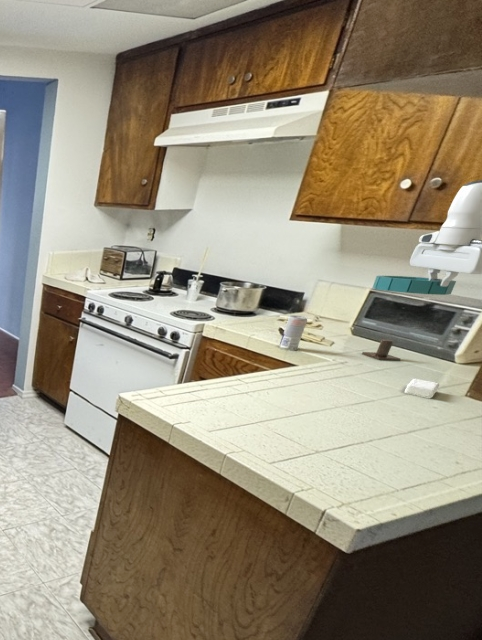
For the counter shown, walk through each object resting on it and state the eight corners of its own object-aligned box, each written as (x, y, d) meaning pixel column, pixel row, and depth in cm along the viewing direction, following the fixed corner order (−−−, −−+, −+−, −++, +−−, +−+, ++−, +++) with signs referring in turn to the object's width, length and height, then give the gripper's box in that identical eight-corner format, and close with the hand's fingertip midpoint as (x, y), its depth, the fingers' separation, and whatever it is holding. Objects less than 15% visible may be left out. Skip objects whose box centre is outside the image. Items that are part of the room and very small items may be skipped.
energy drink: (290, 346, 177) (301, 315, 173) (300, 350, 172) (311, 318, 168) (275, 346, 178) (285, 315, 173) (284, 350, 173) (295, 318, 168)
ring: (413, 288, 160) (418, 276, 159) (466, 295, 144) (472, 282, 142) (359, 286, 161) (363, 274, 160) (406, 293, 145) (411, 280, 144)
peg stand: (382, 355, 169) (389, 337, 166) (399, 361, 162) (407, 343, 160) (361, 354, 169) (368, 337, 167) (378, 360, 163) (386, 342, 160)
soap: (431, 399, 129) (435, 389, 128) (403, 393, 133) (407, 383, 132) (435, 392, 134) (440, 382, 133) (409, 387, 138) (413, 377, 137)
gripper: (508, 241, 129) (484, 291, 134) (436, 236, 148) (417, 280, 153) (484, 240, 130) (460, 290, 135) (415, 236, 149) (396, 280, 154)
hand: (436, 285), depth 144 cm, fingers closed on ring, 2 cm apart
